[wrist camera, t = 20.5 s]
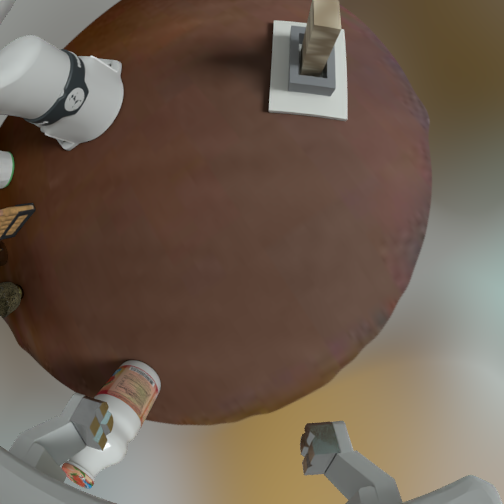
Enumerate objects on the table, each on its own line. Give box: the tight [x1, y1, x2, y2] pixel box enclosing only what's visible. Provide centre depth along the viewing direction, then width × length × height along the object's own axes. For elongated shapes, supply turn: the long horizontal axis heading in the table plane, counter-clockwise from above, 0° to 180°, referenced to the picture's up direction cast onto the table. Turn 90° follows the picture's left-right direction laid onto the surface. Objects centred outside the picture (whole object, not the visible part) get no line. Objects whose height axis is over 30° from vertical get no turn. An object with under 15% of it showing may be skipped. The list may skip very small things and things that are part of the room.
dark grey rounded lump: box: [0, 282, 24, 318], centre depth 44 cm, size 8×7×8 cm
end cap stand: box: [269, 20, 347, 121], centre depth 35 cm, size 12×18×4 cm, turn 176°
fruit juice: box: [62, 360, 161, 489], centre depth 35 cm, size 9×9×28 cm
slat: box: [300, 0, 341, 77], centre depth 29 cm, size 3×5×15 cm, turn 176°
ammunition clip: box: [0, 203, 35, 240], centre depth 38 cm, size 11×2×12 cm, turn 120°
